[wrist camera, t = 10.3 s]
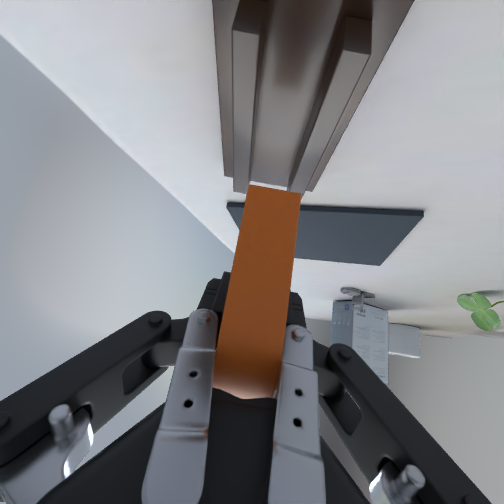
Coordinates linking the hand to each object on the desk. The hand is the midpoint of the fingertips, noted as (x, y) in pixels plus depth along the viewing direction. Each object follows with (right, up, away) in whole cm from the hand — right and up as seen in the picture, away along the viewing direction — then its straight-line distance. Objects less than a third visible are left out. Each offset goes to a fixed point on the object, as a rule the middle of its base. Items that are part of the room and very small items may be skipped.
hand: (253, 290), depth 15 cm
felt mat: (+8, +4, +19) cm, 22 cm away
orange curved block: (+1, +4, -1) cm, 4 cm away
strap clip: (+24, -7, +44) cm, 51 cm away
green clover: (+42, -6, +32) cm, 53 cm away
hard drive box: (+32, -13, +60) cm, 69 cm away
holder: (+2, +11, +2) cm, 12 cm away
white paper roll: (+58, -27, +88) cm, 109 cm away
